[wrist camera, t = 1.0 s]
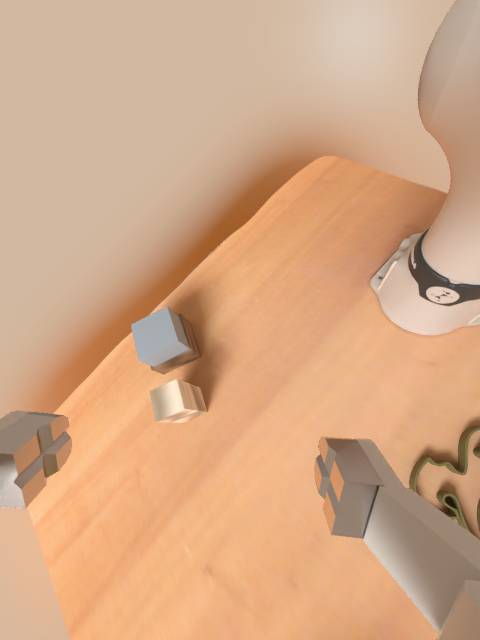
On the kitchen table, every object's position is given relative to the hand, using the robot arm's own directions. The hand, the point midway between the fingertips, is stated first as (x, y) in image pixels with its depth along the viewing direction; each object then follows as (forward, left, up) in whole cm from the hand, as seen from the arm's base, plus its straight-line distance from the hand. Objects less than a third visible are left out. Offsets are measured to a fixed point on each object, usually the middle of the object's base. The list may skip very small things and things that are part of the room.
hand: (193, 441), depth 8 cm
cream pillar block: (+6, -17, -38) cm, 42 cm away
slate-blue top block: (-1, -27, -33) cm, 43 cm away
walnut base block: (-1, -27, -38) cm, 47 cm away
